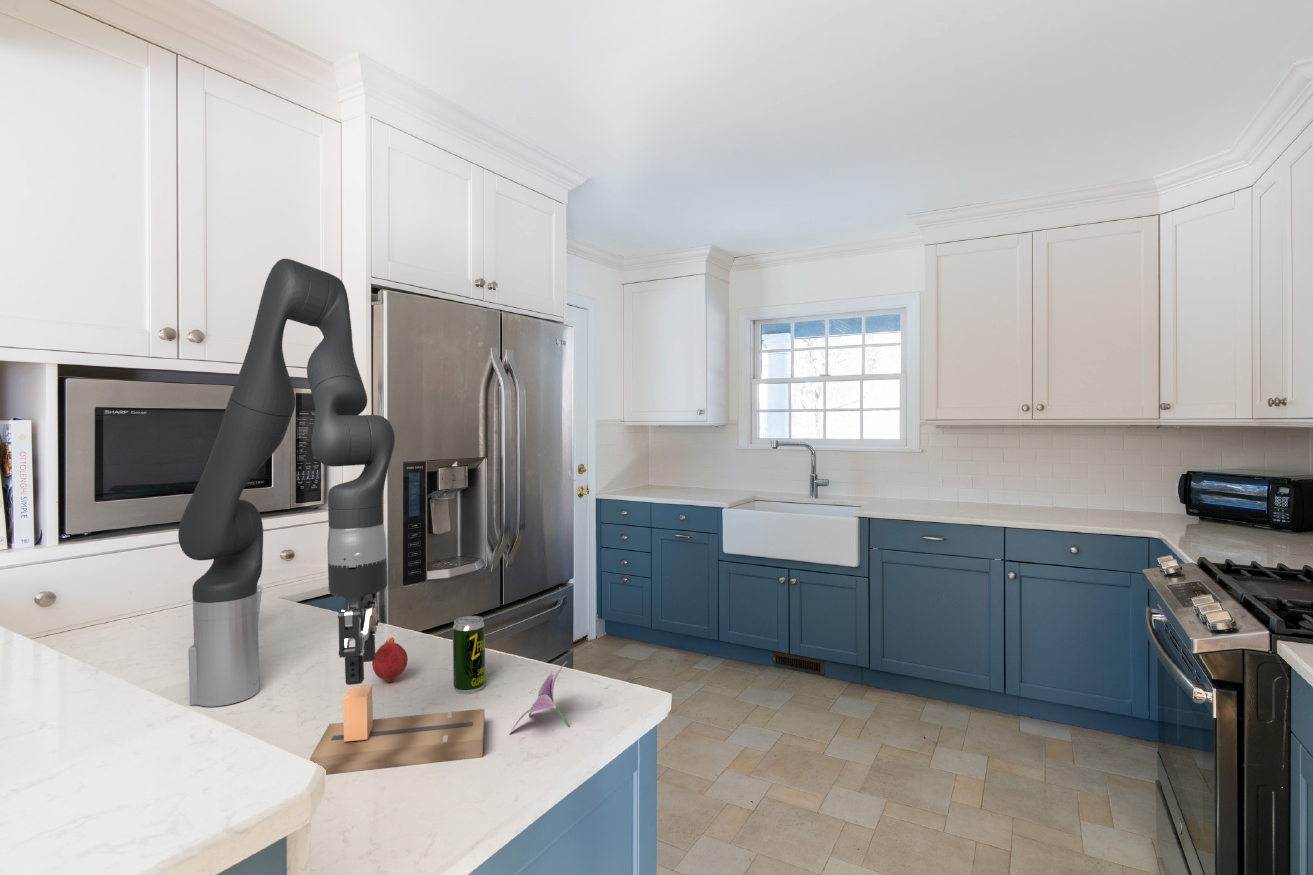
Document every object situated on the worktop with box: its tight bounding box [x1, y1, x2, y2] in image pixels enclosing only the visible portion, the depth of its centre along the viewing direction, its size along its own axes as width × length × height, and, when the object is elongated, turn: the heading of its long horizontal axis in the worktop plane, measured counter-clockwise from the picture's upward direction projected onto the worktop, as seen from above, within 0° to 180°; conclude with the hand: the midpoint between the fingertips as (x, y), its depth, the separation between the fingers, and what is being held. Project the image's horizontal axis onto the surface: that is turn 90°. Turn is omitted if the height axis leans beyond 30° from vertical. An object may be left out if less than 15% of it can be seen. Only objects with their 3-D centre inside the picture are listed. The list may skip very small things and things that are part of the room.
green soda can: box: [452, 615, 486, 695], centre depth 117 cm, size 5×5×12 cm
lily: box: [509, 660, 571, 734], centre depth 103 cm, size 12×12×10 cm
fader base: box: [309, 708, 486, 775], centre depth 96 cm, size 22×10×3 cm, turn 103°
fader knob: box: [342, 684, 374, 742], centre depth 94 cm, size 3×4×6 cm
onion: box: [371, 636, 408, 683], centre depth 120 cm, size 6×6×8 cm
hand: (361, 671), depth 94 cm, fingers open, 8 cm apart
